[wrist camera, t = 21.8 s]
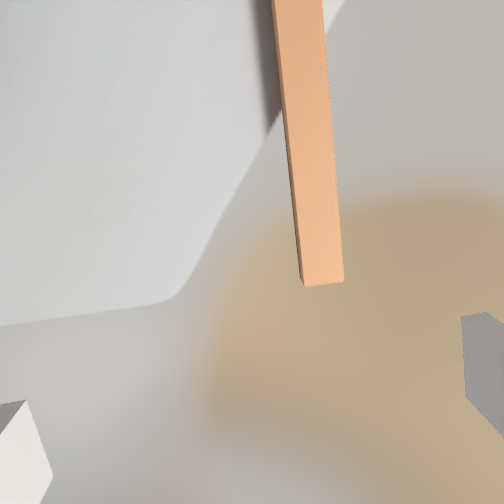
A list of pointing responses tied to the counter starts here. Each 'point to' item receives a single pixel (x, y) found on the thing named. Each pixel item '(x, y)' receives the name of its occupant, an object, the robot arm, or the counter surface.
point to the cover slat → (309, 138)
